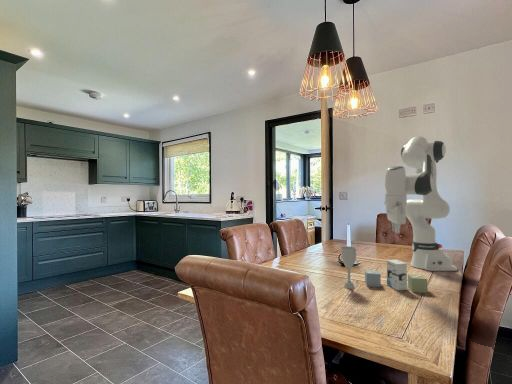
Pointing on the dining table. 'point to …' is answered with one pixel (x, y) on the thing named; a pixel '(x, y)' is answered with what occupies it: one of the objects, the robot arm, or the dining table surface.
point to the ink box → (397, 274)
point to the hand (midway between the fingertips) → (396, 232)
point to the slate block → (372, 278)
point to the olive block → (417, 283)
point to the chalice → (348, 263)
